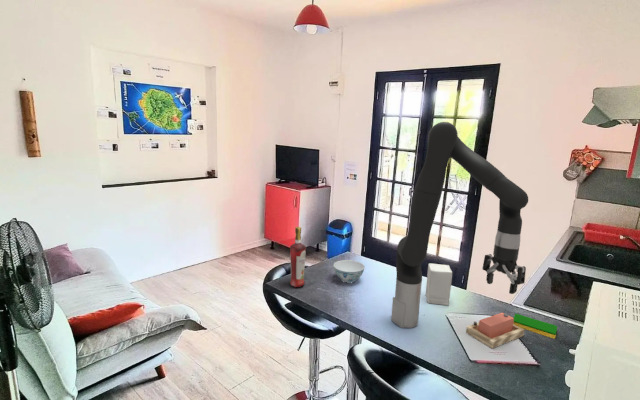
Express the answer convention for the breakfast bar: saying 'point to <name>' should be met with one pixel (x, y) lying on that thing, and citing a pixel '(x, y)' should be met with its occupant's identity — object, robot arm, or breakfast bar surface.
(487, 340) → the wooden tray
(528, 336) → the breakfast bar surface
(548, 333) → the dish sponge
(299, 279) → the liquor
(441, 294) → the supplement box
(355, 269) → the chinaware
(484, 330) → the salmon pink brick
